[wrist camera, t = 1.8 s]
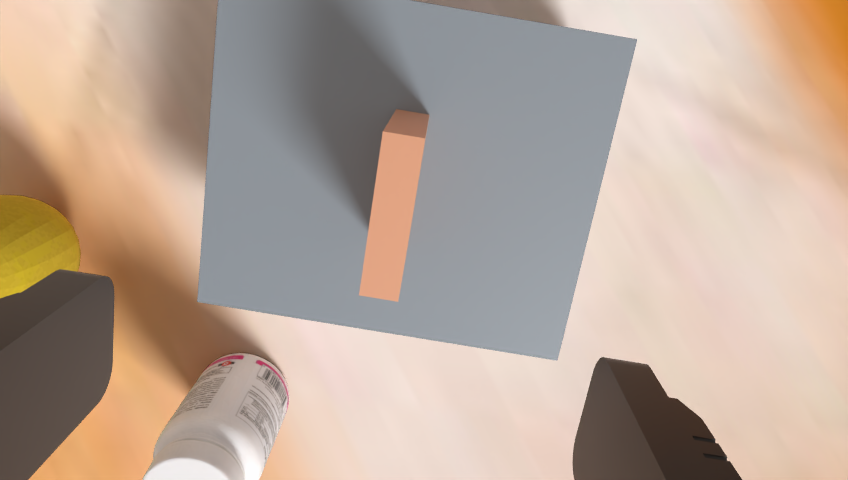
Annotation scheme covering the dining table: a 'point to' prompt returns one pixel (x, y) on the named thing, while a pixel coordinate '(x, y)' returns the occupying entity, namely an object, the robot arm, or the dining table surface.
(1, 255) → the lemon
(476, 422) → the dining table surface
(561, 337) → the lid
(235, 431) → the pill bottle
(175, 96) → the dining table surface
